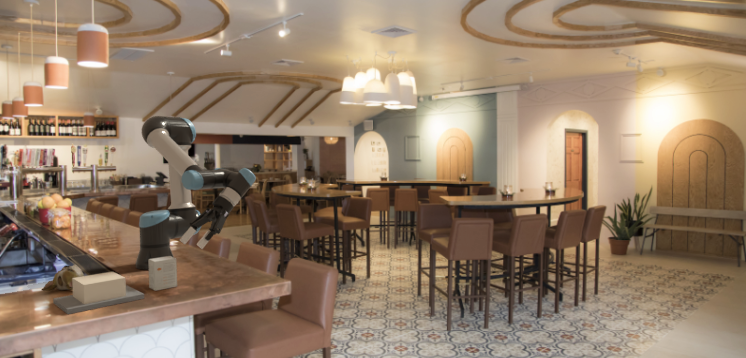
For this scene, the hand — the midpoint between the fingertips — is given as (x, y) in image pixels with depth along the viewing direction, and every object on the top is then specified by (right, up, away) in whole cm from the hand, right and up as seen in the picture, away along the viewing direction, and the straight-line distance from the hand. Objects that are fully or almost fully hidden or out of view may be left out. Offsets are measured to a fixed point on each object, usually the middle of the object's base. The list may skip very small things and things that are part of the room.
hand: (190, 244), depth 177 cm
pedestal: (-21, -15, -23) cm, 34 cm away
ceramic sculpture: (-41, -15, -9) cm, 44 cm away
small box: (-7, -15, -7) cm, 18 cm away
